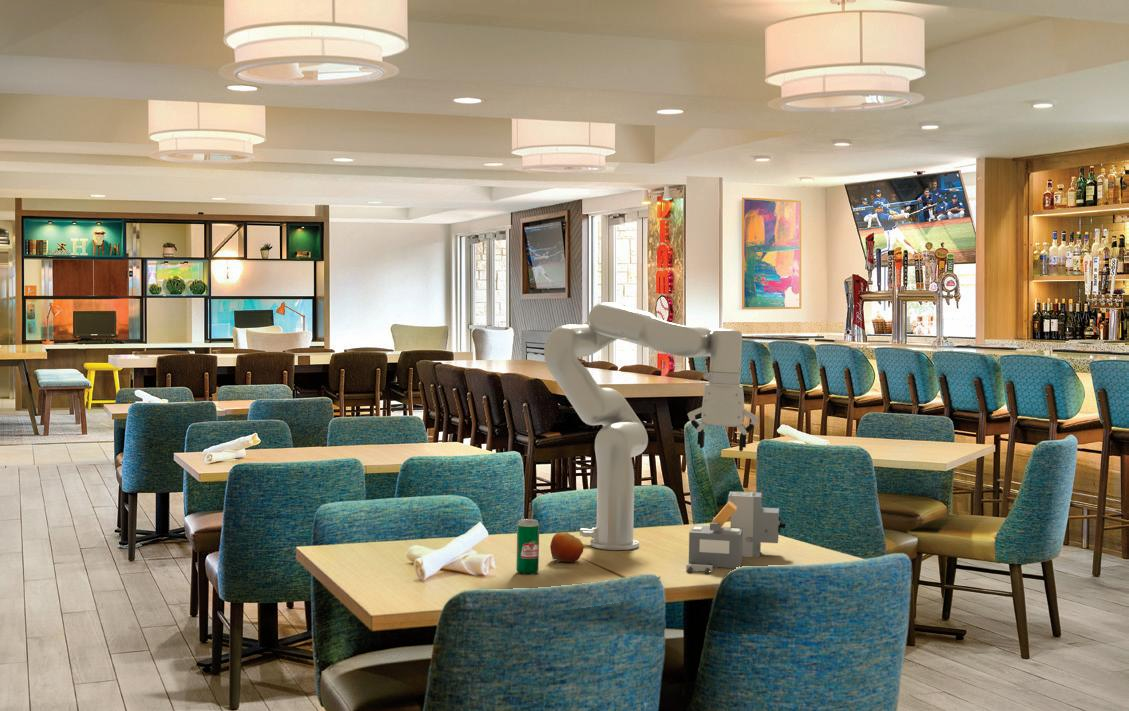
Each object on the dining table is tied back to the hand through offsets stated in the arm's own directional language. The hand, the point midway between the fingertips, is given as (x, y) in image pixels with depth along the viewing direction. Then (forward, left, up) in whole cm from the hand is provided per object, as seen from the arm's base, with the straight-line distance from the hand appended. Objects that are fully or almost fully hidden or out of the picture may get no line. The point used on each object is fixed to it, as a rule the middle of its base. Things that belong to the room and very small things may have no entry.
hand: (721, 449), depth 287 cm
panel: (0, -6, -27) cm, 28 cm away
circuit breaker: (+9, +8, -27) cm, 29 cm away
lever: (0, -6, -17) cm, 18 cm away
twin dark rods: (-3, -15, -27) cm, 31 cm away
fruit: (-35, -14, -27) cm, 47 cm away
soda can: (-41, -29, -27) cm, 57 cm away
